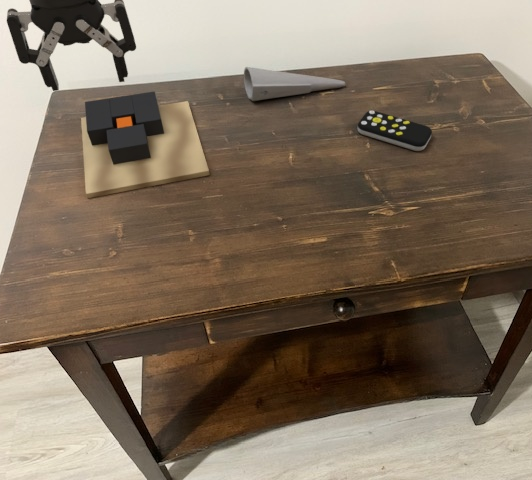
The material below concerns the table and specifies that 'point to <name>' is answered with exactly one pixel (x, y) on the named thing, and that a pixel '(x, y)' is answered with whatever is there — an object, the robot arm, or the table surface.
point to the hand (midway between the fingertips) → (89, 83)
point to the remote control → (394, 130)
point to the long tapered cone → (283, 83)
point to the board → (152, 169)
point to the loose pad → (127, 142)
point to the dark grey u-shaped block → (122, 115)
